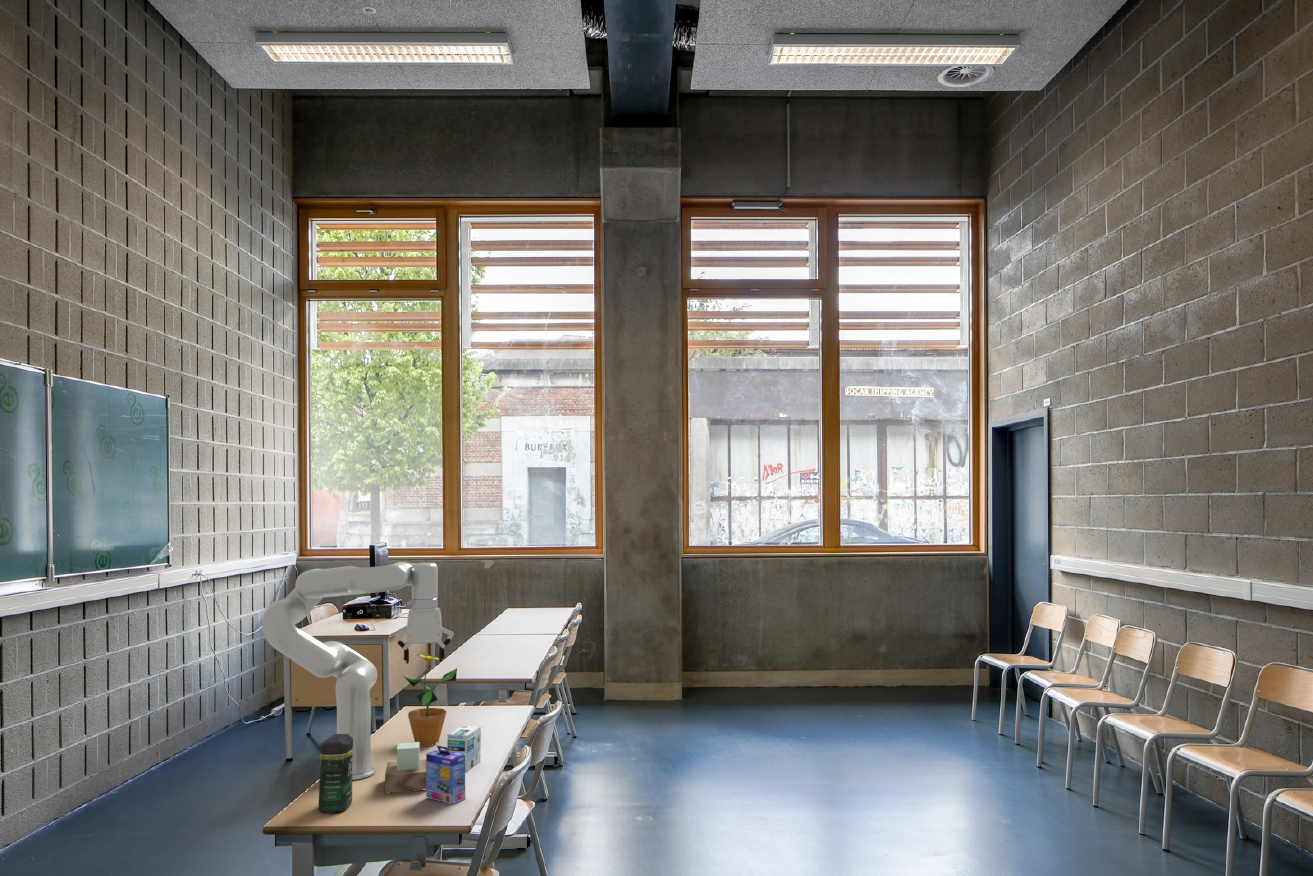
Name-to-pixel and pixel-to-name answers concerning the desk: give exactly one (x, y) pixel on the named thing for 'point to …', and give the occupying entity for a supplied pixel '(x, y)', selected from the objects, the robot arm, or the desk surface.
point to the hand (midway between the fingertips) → (424, 662)
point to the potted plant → (428, 710)
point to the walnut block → (405, 778)
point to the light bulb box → (466, 744)
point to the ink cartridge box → (445, 775)
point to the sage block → (408, 756)
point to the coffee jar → (335, 773)
